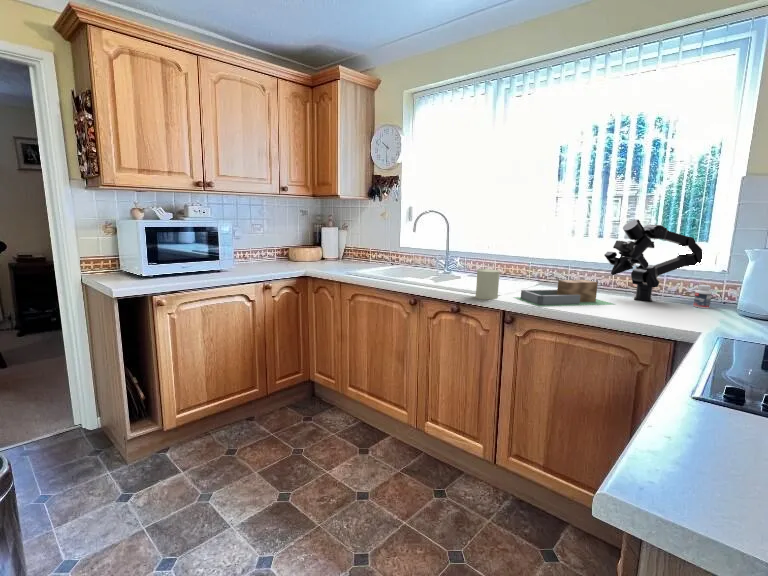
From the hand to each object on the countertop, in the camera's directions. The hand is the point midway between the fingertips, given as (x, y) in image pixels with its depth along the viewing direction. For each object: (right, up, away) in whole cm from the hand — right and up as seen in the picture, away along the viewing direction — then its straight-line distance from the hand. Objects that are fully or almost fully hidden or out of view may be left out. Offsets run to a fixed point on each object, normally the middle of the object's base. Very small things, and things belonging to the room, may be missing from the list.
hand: (611, 274), depth 176 cm
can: (-52, -10, +1) cm, 53 cm away
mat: (-22, -11, -3) cm, 25 cm away
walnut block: (-16, -11, -2) cm, 19 cm away
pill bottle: (+32, -14, -6) cm, 36 cm away
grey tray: (-28, -11, -5) cm, 30 cm away
